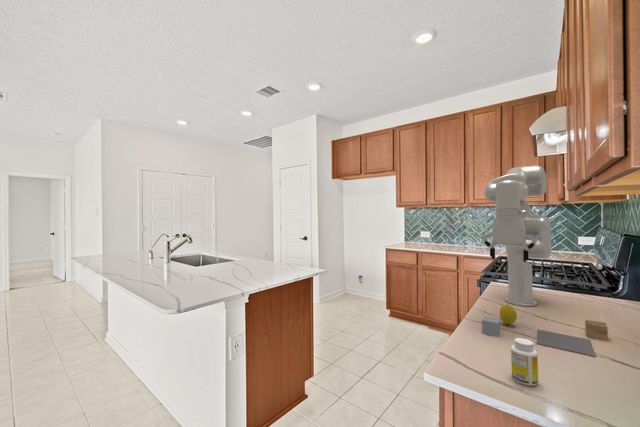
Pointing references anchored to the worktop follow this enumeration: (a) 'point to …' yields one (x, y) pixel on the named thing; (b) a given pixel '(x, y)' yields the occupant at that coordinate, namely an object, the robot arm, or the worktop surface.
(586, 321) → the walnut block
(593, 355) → the mat
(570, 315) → the worktop surface
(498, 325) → the slate block
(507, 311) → the lemon
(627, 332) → the worktop surface
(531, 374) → the supplement bottle
